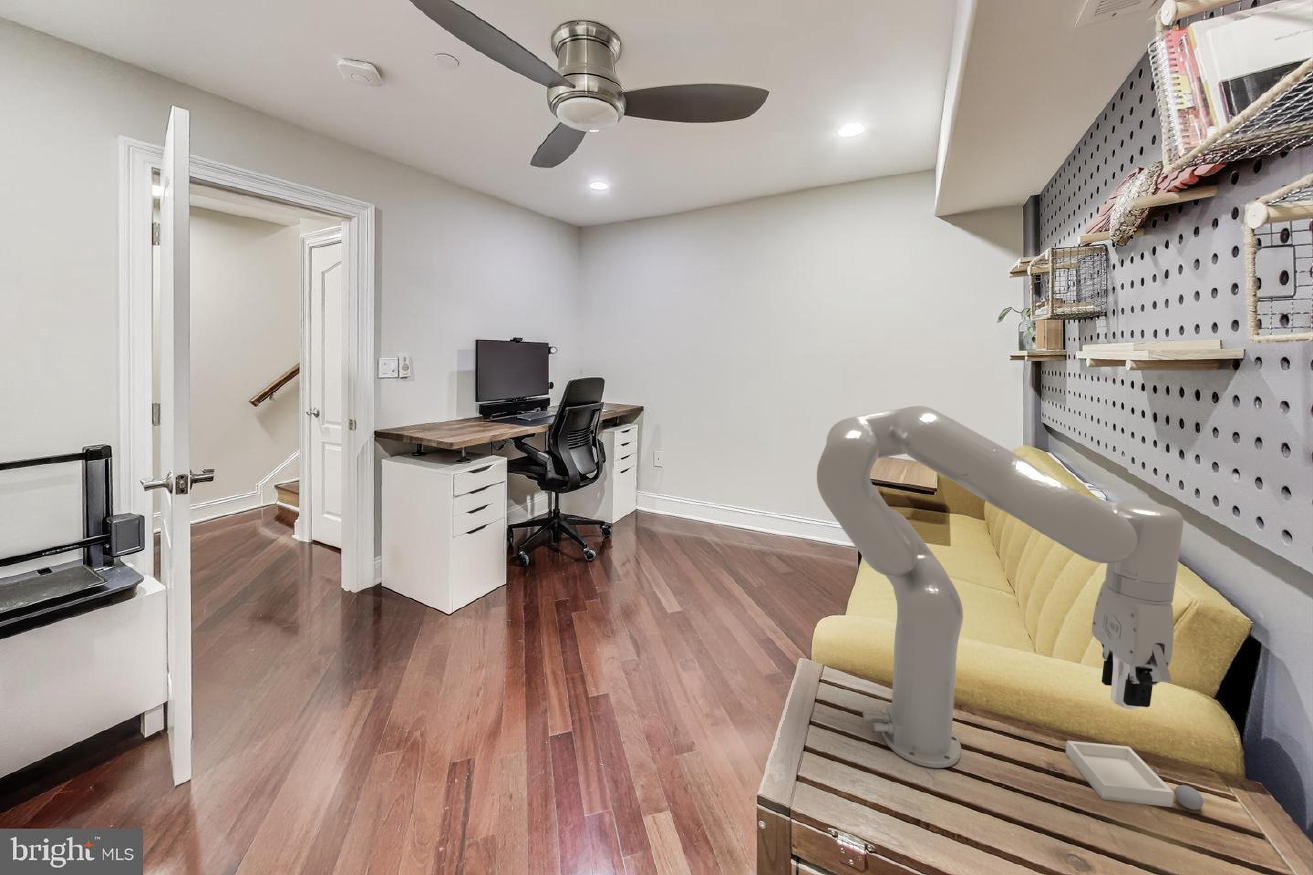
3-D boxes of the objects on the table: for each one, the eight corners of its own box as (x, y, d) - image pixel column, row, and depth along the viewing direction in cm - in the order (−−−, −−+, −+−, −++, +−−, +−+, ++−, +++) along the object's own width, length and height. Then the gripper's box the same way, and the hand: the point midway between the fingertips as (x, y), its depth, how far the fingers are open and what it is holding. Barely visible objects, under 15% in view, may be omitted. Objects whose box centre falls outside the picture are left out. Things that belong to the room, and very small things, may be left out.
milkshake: (1102, 705, 79) (1112, 648, 77) (1106, 688, 82) (1116, 633, 80) (1143, 720, 76) (1154, 662, 73) (1145, 701, 79) (1156, 645, 77)
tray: (1102, 799, 77) (1103, 784, 77) (1065, 753, 86) (1066, 740, 86) (1172, 807, 76) (1174, 792, 75) (1127, 759, 85) (1129, 746, 84)
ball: (1184, 813, 75) (1186, 795, 74) (1167, 796, 78) (1170, 778, 77) (1208, 815, 74) (1210, 797, 74) (1190, 798, 77) (1193, 781, 77)
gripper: (1075, 561, 85) (1065, 661, 88) (1152, 609, 69) (1136, 730, 71) (1127, 563, 83) (1114, 665, 86) (1218, 613, 67) (1199, 736, 70)
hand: (1124, 693), depth 79 cm, fingers closed on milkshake, 4 cm apart
